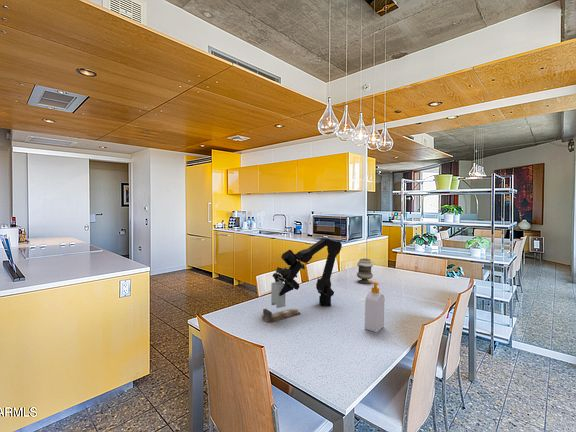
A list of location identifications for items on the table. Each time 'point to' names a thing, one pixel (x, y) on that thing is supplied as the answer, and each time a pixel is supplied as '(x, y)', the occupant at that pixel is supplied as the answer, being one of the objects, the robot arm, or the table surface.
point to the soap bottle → (374, 309)
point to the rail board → (279, 314)
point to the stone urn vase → (364, 270)
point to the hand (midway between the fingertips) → (276, 293)
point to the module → (277, 294)
